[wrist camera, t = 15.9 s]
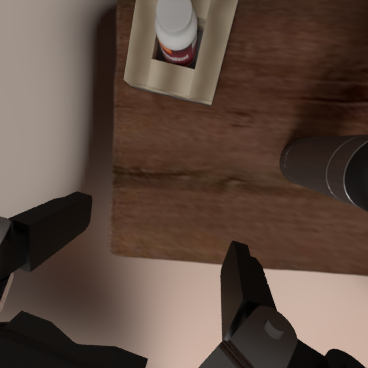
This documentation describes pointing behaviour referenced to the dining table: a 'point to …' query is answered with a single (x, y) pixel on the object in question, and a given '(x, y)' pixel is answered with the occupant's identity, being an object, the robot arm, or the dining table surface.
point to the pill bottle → (177, 31)
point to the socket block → (173, 74)
